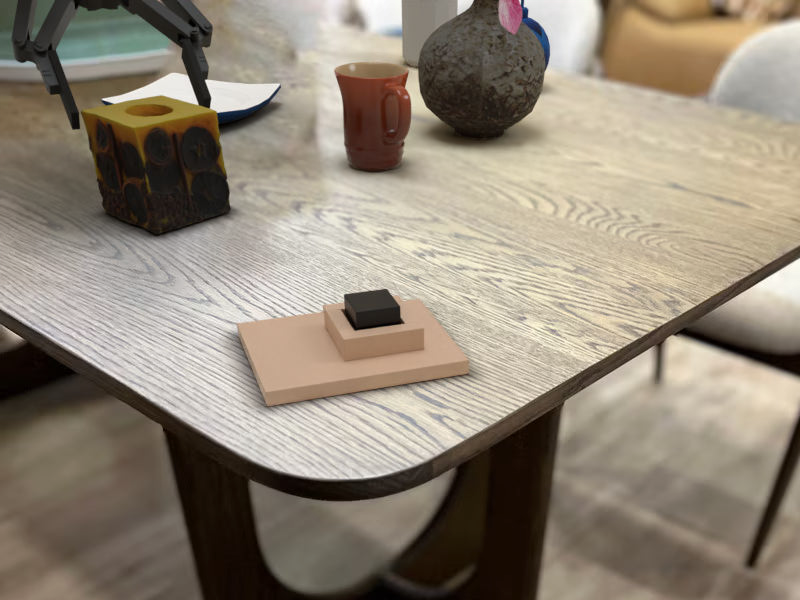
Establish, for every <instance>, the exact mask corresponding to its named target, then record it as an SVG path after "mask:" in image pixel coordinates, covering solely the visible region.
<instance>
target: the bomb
mask: <svg viewBox="0 0 800 600" xmlns="http://www.w3.org/2000/svg"><path fill="white" fill-rule="evenodd" d="M520 5H521V7H522V14H523V15H522V20H521V21H522V22H524V23H525V24H526V25H527V26H528V27H529V28H530V29H531V30H532V31H533V33H534V34H535V35H536V37H537V38H538V39H539V41H540V42H541V45H542V47H543V50H544V52H545V72H546V70H547V69H548V66H549V63H550V57H551V44H550V40H549V37H548V34H547V33H546V30H545V29H544V27H543V26H542V25H541V24H540V23H539V21H537V20H535V19H533V18H531V17H529V8H528V7H526V6H525V0H520Z"/></svg>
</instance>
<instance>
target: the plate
mask: <svg viewBox="0 0 800 600" xmlns="http://www.w3.org/2000/svg"><path fill="white" fill-rule="evenodd" d="M205 82H206V84H207V87H208V90H209V93H210V95H211V105H210V109H212V110H215V111H217V117H218V125H221V124H225V123H230V122H235V121H238V120H241V119H244V118H246V117H249V116H250V115H251V114H253V113H254V112H256V111H258V110H259V109H262V108H263V107H265V106H267V105H269V104H270V102H272V100H273V99H274V98H275V96H276V95H277V94H278V93H279V91H280V90H281V88H282V84H281V83H240V82H229V81H223V80H214V79H207V80H205ZM160 95H163V96H166V97H169V98H173V99H177V100H181V101H184V102H188V103H192V104H196V105H199V104H198V102H197V99H196V96H195V93H194V91H193V88H192V85H191V82H190V80H189V77H188V74H183V73H179V72H170V73H169V74H167V75H165V76H163V77H160V78H159V79H157V80H155V81H153V82H151V83H149V84H147V85H145V86H142V87H140V88H136V89H134V90H132V91H129V92H126V93H123V94H119V95H113V96H110V97H104V98H101V102H102V104H103V105H104V106H107V105H112V104H116V103H120V102H125V101H129V100H136V99H142V98H148V97H154V96H160Z"/></svg>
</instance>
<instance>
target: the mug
mask: <svg viewBox="0 0 800 600" xmlns="http://www.w3.org/2000/svg"><path fill="white" fill-rule="evenodd" d="M333 72H334V77H335V78H336V82H337V85H338V89H339V91H340V96H341V102H342V115H343V116H342V118H343V119H342V123H343V124H342V126H343V127H342V128H343V146H344V149H345V155H346V160H347V162H348V163H349V164H350V165H351V166H352V167H353V168H356V169H359V170H362V171H369V172H382V171H390V170H393V169H395V168H397V167H398V166H399V165H400V164H401V163H402V161H403V157H404V153H405V145H406V143H405V140H406V138H407V137H408V135H409V132H410V128H411V123H412V99H411V95H410V93H409V90H408V89H406V85H407V81H408V78H409V74H410V71H409V69H408V68H407V67H405V66H403V65H400V64H396V63H392V62H383V61H382V62H381V61H360V62H358V61H357V62H350V63H344V64H341V65H338V66H336V67H335V68H334V70H333Z"/></svg>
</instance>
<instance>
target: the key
mask: <svg viewBox="0 0 800 600" xmlns="http://www.w3.org/2000/svg"><path fill="white" fill-rule="evenodd" d="M393 296H394V295H392V293H391V292H390V290H389V289H388V288H381V289H373V290H366V291H359V292H358V291H357V292H351V293H344V294H343V303H344V305H345V315H346V317H347V318H348V320H349V321H350V323H351V325H352V326H353V328H354V329H355V331H357V330H364V329H371V328H378V327H385V326H392V325H399V324H401V312H400V305H399V304H398V303H397V302H396V300H395V299H394V298H393Z"/></svg>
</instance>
